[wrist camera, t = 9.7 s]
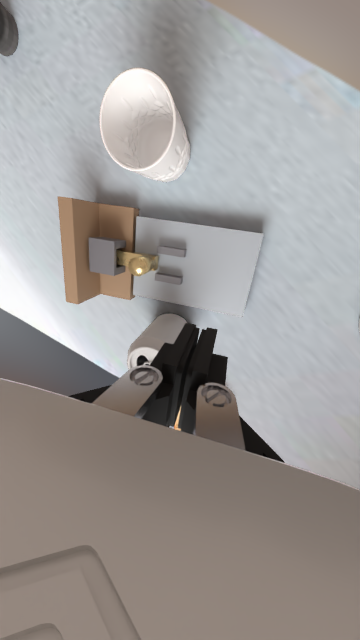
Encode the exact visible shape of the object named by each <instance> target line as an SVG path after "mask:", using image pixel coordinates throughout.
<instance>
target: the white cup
mask: <svg viewBox="0 0 360 640" xmlns="http://www.w3.org/2000/svg"><path fill="white" fill-rule="evenodd" d="M100 131H101V136H102V140H103V143H104V145H105V147H106V149H107V151H108V153H109V155H110V156H111V157H112V158H113V160H114V161H115V162H116V163H118V164H119V165H120V166H122V167H123V168H125V169H128V170H130V171H133V172H135V173H137V174H140V175H142V176H145V177H147V178H150V179H153V180H157V181H162V182H166V183H167V182H170V181H173V180H176V179H177V178H178V177H179V176H180V175H181V174H182V173H183V172H184V171H185V170H186V167H187V165H188V162H189V160H190V143H189V141H188V138H187V135H186V130H185V128H184V125H183V122H182V119H181V116H180V114H179V112H178V109H177V107H176V105H175V102H174V100H173V97H172V95H171V93H170V90H169V89H168V87H167V85H166V84H165V82H164V81H163V80H162V79H161V78H160V77H159V76H158V75H157V74H156V73H154V72H152V71H150V70H148V69H145V68H131V69H128V70H125V71H123V72H122V73H120V74H119V75H118V76H117V77H116V78H115V79H114V80H113V81H112V82H111V83H110V85H109V86H108V88H107V90H106V92H105V94H104V97H103V100H102V103H101V108H100Z"/></svg>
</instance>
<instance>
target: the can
mask: <svg viewBox="0 0 360 640" xmlns="http://www.w3.org/2000/svg"><path fill="white" fill-rule="evenodd" d="M185 323H187V322H186V320H185V319H184V318H182V317H180V316H179V315H176V314H172V313H168V314H163V315H160V316H158V317H157V318H156V319H155V320H154V321H153V322H152V323H151V324H150V325H149V326H148V327H147V328H146V329H145V331H144V332H143V333H142V334H141V335H140V336H139V337H138V338H137V339H136V340H135V341H134V342H133V343H132V344H131V346H130V348H129V350H128V359H127V365H128V369H129V370H130V369H131V368H133V367H136V366H140V365H148V366H149V365H150V364H151V362H152V361H153V359H154V358H155V356H156V355H157V353H158V352H159V350H160V349H161V347H162V346H163V344H164V343H165V342H166V343H170V344H174V342H175V340H176V339H177V337H178V335H179V334H180V332H181V330H182V328H183V327H184V325H185Z"/></svg>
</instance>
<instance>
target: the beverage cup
mask: <svg viewBox="0 0 360 640" xmlns="http://www.w3.org/2000/svg"><path fill="white" fill-rule="evenodd" d="M17 45H18V29H17V25H16V22H15V20H14V18H13V16H12V15H11V14H10V13H9V12H8V11H7V10H6V9H5V7H4V6H3V5H2V4H1V2H0V53H1V54H2V55H4V56H10V55H12V54H13V53H14V52H15V50H16V48H17Z"/></svg>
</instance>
